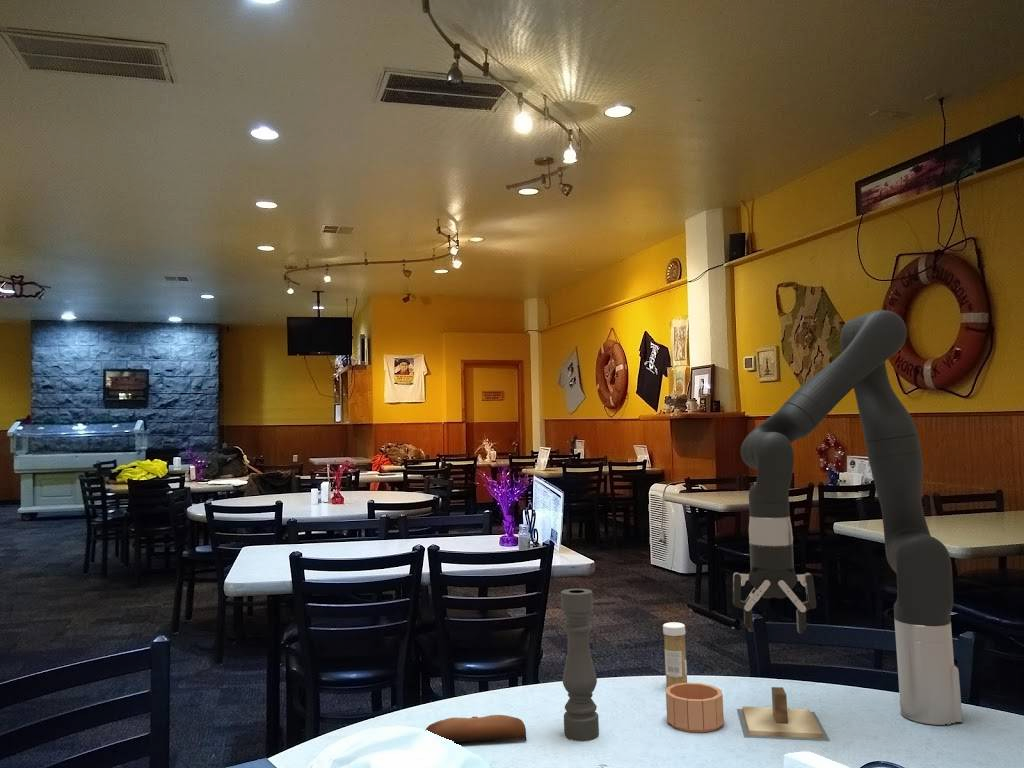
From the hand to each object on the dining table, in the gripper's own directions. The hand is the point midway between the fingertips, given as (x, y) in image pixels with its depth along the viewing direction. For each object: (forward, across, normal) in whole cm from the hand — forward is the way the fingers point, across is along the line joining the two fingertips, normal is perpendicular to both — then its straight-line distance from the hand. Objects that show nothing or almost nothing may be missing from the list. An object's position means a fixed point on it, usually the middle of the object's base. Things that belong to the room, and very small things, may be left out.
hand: (775, 631), depth 137 cm
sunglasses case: (+18, +54, +12) cm, 58 cm away
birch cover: (+16, 0, 0) cm, 16 cm away
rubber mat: (+17, 0, 0) cm, 17 cm away
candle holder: (+17, +35, +8) cm, 40 cm away
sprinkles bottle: (+17, +18, -18) cm, 30 cm away
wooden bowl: (+17, +15, +1) cm, 22 cm away
